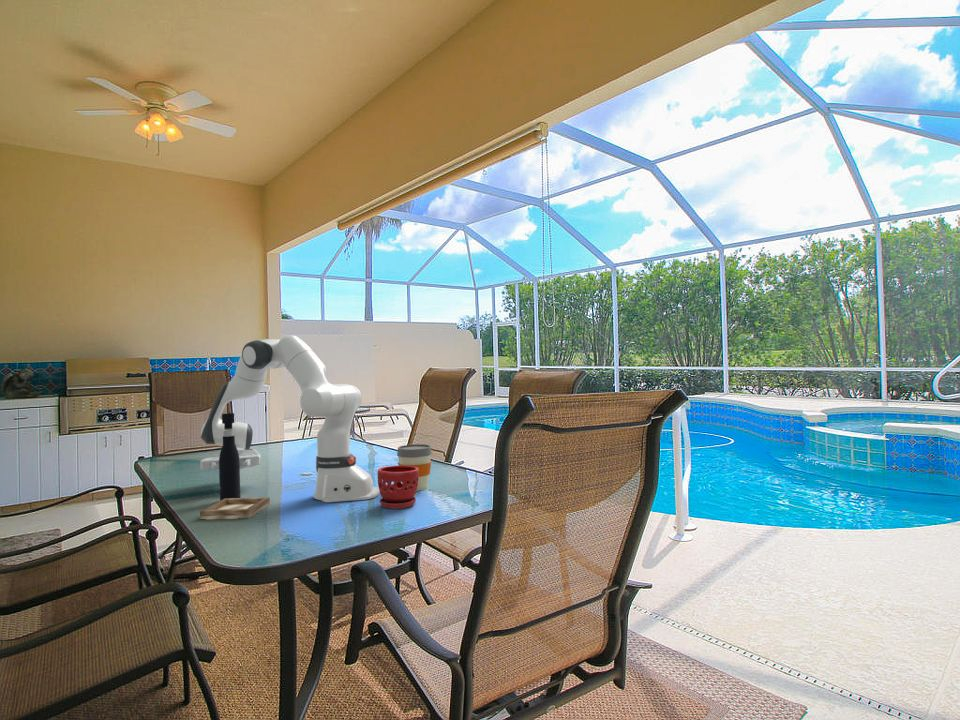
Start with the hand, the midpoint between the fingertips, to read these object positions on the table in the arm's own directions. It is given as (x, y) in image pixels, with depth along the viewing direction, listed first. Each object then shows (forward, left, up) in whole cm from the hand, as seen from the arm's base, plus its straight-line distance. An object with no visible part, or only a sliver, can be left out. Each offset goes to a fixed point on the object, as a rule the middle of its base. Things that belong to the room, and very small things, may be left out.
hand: (230, 465), depth 187 cm
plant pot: (-63, +17, -11) cm, 66 cm away
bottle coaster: (-12, +21, -11) cm, 27 cm away
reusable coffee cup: (-65, -6, -11) cm, 66 cm away
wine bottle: (-3, +7, -11) cm, 14 cm away
